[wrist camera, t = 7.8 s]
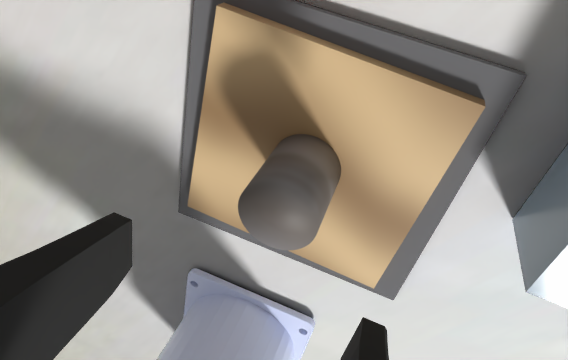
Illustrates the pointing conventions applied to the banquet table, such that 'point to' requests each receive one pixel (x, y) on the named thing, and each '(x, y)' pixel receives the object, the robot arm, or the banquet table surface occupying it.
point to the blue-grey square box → (546, 235)
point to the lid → (320, 144)
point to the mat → (381, 46)
